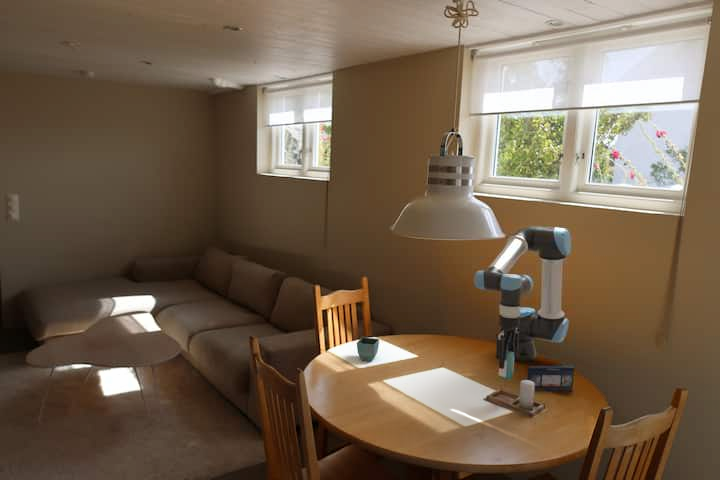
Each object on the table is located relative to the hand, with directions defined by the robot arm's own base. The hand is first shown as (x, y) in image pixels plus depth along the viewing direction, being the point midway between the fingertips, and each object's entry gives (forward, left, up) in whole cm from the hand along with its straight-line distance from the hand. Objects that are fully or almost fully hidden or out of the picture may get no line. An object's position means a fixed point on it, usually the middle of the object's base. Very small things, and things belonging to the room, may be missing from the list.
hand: (506, 373), depth 198 cm
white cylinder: (0, +9, -11) cm, 14 cm away
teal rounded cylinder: (0, 0, -1) cm, 1 cm away
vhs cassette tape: (-24, +6, -12) cm, 28 cm away
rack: (0, +4, -12) cm, 13 cm away
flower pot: (+8, -68, -12) cm, 69 cm away
